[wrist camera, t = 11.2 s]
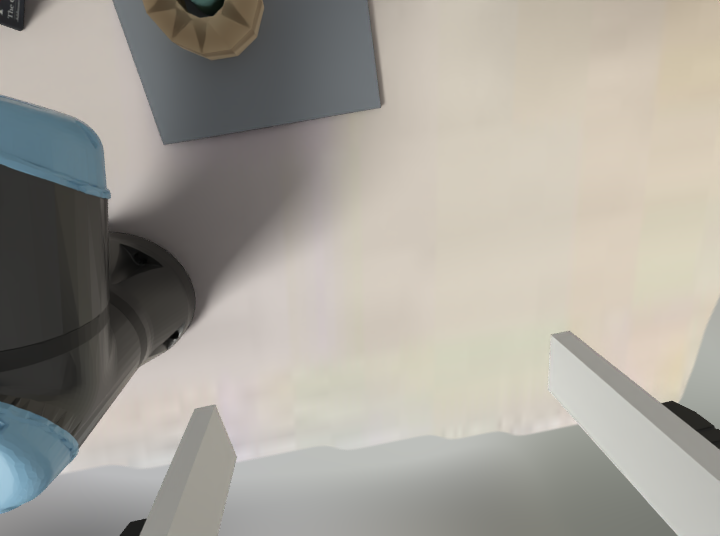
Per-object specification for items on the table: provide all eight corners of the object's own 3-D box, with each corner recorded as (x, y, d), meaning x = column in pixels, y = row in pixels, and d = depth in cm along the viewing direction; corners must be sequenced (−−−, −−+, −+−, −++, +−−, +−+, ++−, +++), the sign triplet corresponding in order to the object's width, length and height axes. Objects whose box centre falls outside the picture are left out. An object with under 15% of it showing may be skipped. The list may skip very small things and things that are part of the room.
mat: (166, 144, 35) (163, 144, 35) (90, -72, 29) (85, -76, 28) (379, 107, 36) (380, 107, 36) (352, -109, 30) (353, -113, 29)
